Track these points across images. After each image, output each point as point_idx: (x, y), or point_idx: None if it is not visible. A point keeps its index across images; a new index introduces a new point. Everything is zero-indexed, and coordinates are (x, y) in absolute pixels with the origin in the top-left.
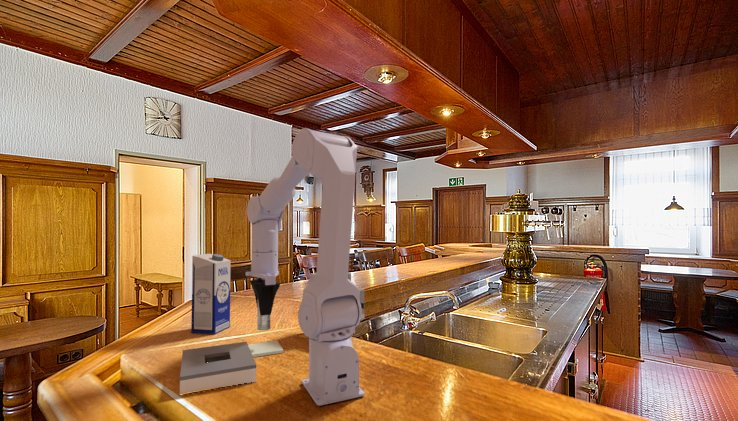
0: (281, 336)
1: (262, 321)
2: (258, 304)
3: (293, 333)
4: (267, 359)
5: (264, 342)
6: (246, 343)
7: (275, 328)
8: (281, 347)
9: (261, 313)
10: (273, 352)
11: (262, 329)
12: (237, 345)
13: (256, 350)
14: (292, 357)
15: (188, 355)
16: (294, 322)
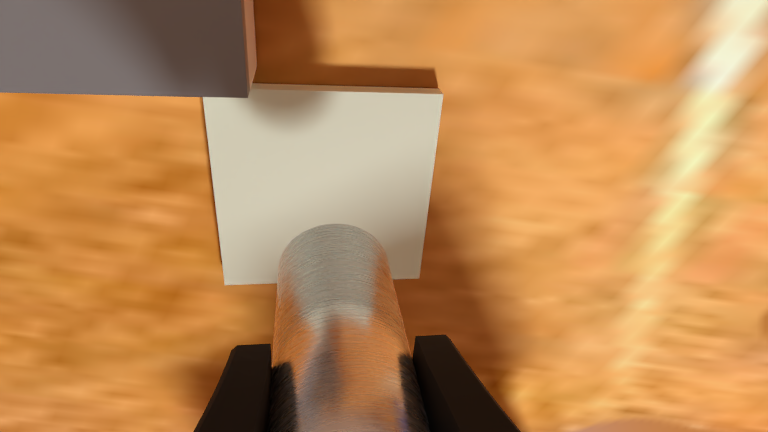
0: (522, 304)
1: (279, 306)
2: (322, 426)
3: (531, 358)
4: (138, 179)
5: (424, 212)
6: (190, 90)
7: (685, 297)
8: (276, 281)
9: (228, 366)
10: (220, 230)
11: (280, 259)
12: (156, 5)
13: (283, 144)
14: (129, 301)
15: None
16: (704, 385)
